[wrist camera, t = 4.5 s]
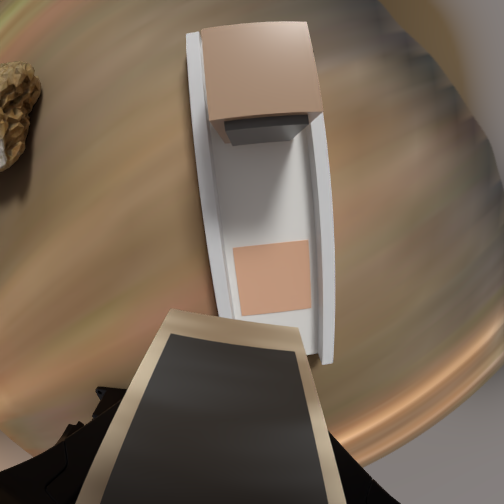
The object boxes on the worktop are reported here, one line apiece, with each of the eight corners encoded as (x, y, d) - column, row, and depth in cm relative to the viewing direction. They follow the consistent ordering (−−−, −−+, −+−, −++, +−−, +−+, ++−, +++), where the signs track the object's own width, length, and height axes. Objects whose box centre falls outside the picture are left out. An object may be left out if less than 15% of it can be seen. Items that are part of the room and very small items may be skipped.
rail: (328, 344, 21) (359, 415, 13) (228, 355, 21) (220, 433, 13) (303, 40, 15) (332, -25, 7) (188, 50, 15) (156, -13, 7)
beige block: (301, 317, 9) (365, 530, 2) (272, 411, 10) (284, 567, 3) (171, 297, 9) (65, 497, 2) (169, 396, 10) (125, 548, 3)
